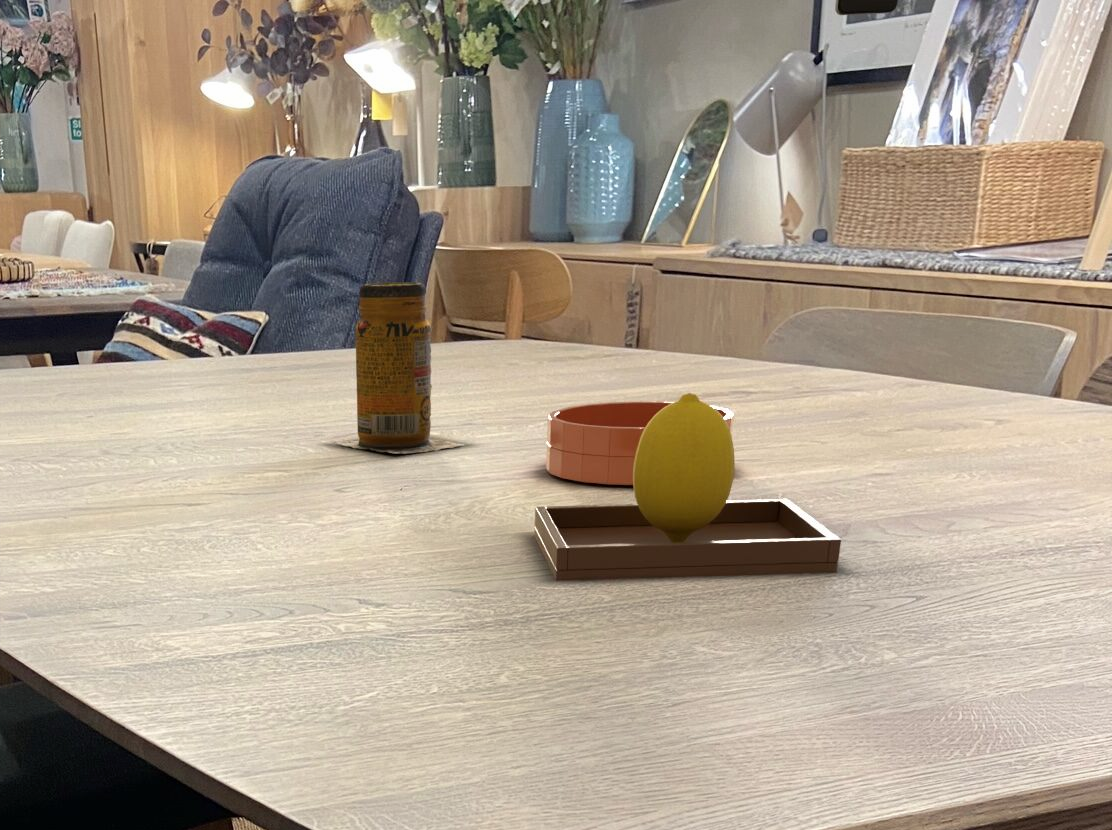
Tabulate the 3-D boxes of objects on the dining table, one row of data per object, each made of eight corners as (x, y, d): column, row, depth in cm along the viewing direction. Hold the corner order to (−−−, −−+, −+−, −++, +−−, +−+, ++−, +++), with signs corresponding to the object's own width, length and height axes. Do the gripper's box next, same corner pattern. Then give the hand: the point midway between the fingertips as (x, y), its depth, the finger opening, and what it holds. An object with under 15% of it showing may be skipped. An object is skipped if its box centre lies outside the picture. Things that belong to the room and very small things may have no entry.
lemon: (621, 534, 85) (630, 388, 81) (714, 531, 85) (728, 385, 81) (637, 556, 80) (648, 401, 76) (737, 552, 80) (752, 398, 76)
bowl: (706, 454, 111) (711, 399, 109) (745, 486, 100) (752, 424, 98) (537, 460, 111) (539, 404, 109) (557, 492, 100) (560, 430, 98)
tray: (784, 529, 88) (787, 498, 87) (836, 573, 78) (841, 539, 77) (534, 537, 88) (535, 506, 87) (555, 582, 78) (557, 548, 77)
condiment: (404, 435, 123) (402, 279, 117) (466, 447, 117) (467, 282, 111) (333, 445, 120) (328, 285, 114) (394, 458, 114) (391, 289, 108)
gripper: (1123, -539, 58) (1036, -19, 66) (965, -392, 73) (911, 17, 81) (935, -531, 58) (873, -12, 66) (816, -385, 73) (778, 23, 81)
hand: (894, 4), depth 74 cm, fingers open, 9 cm apart
